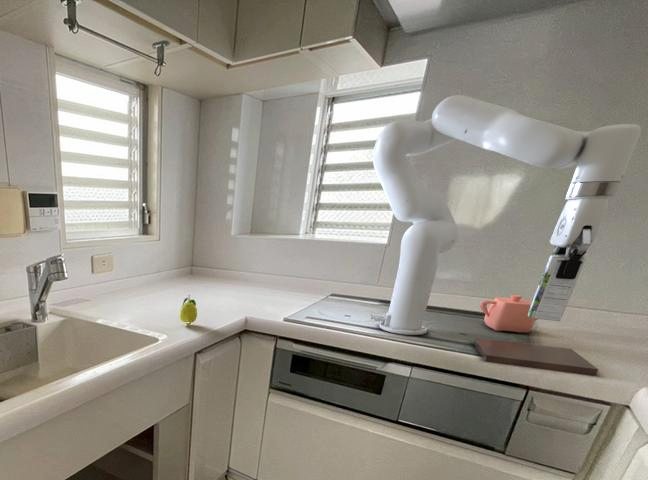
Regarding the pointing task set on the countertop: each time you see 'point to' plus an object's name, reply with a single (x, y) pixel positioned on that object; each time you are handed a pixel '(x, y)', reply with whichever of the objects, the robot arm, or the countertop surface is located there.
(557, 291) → the syrup box
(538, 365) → the cutting board
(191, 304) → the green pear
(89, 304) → the countertop surface
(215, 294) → the countertop surface
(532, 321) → the teapot
